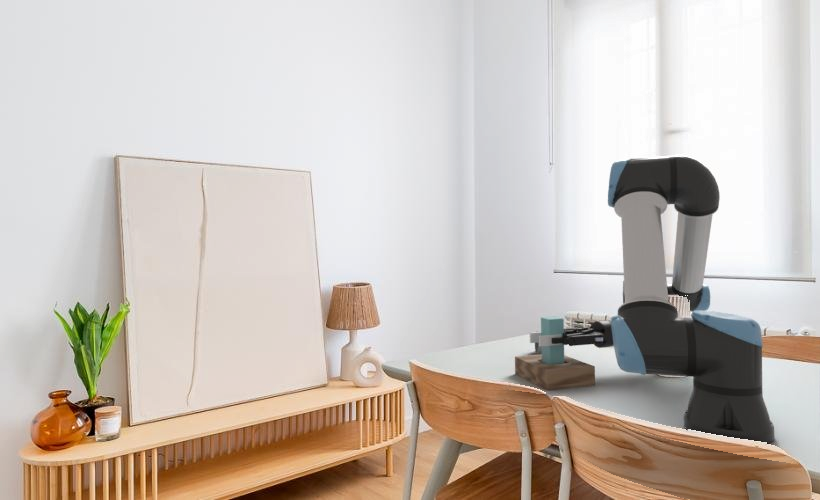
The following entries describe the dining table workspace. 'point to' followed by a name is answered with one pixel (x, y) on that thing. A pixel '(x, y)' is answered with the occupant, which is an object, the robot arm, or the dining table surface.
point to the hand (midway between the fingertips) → (535, 339)
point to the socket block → (555, 372)
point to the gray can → (538, 347)
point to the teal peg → (553, 352)
